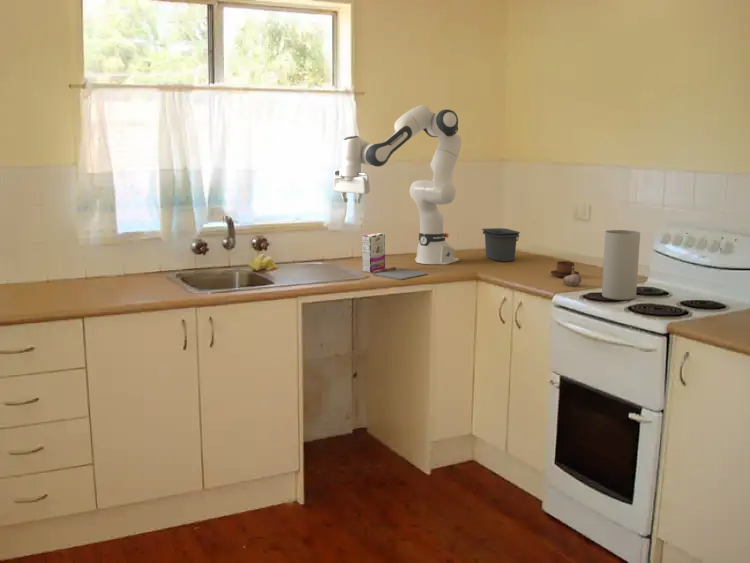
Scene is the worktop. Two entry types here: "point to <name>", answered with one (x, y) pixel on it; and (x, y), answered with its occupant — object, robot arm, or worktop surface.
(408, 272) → the rubber mat
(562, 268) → the cup and saucer
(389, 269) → the walnut kerb
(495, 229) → the storage bin
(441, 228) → the robot arm
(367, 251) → the candy bar box
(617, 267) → the cylinder vase
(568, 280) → the garlic bulb
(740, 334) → the worktop surface
